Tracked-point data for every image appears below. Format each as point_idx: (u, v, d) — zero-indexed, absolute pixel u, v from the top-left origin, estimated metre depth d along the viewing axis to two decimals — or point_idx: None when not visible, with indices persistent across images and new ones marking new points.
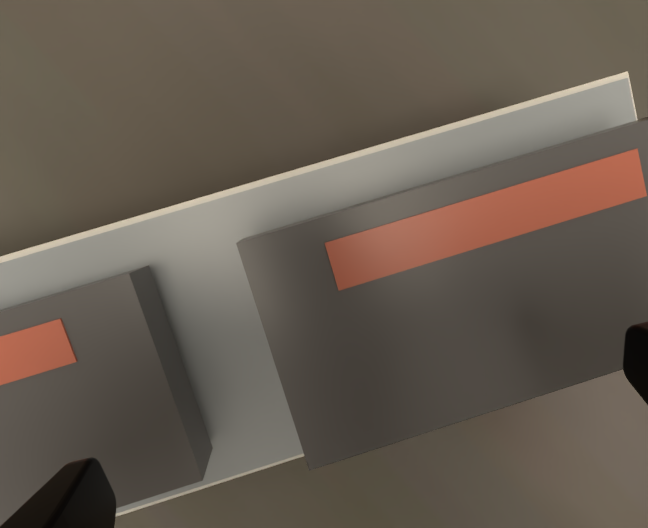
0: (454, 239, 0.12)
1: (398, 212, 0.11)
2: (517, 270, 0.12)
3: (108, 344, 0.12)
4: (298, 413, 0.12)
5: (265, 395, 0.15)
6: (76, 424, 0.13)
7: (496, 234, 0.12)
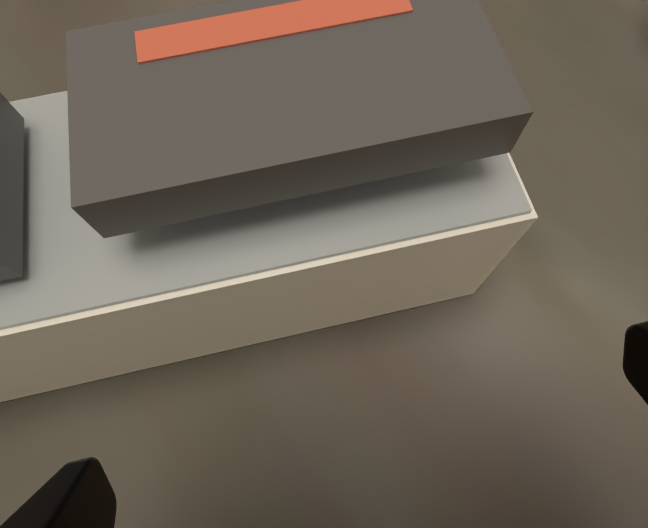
0: (244, 35, 0.14)
1: (199, 16, 0.14)
2: (298, 57, 0.13)
3: None
4: (76, 155, 0.12)
5: (93, 239, 0.15)
6: None
7: (280, 32, 0.14)
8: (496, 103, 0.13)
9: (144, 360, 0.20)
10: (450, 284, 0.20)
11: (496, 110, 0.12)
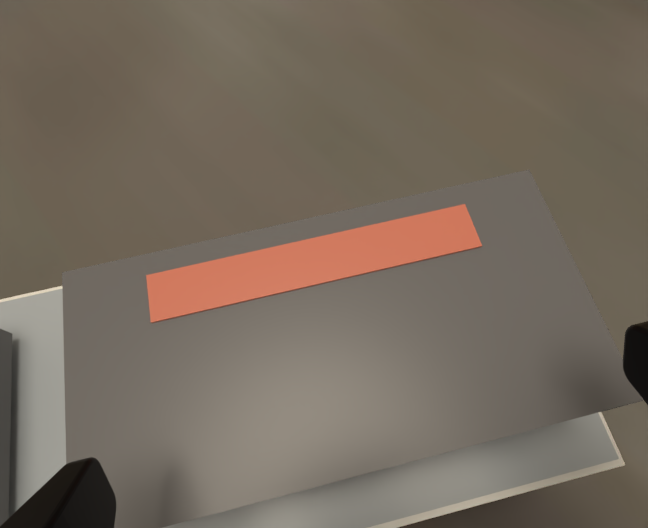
0: (279, 279, 0.11)
1: (224, 251, 0.12)
2: (347, 314, 0.11)
3: None
4: None
5: None
6: None
7: (324, 276, 0.11)
8: (596, 387, 0.10)
9: None
10: None
11: (597, 397, 0.10)
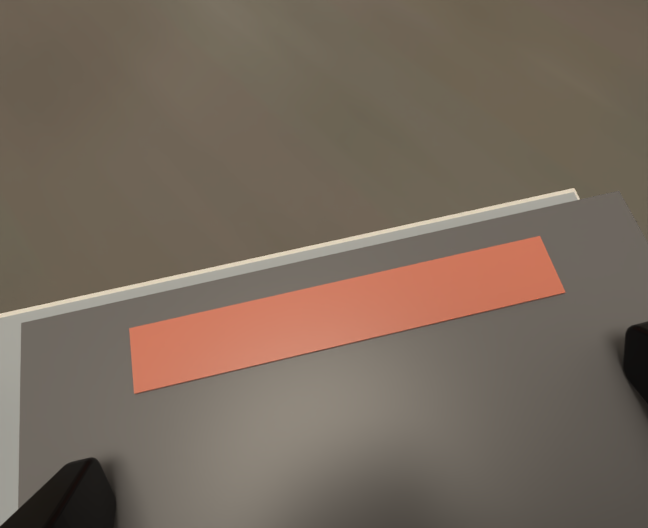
0: (302, 336, 0.09)
1: (230, 296, 0.09)
2: (392, 384, 0.08)
3: None
4: None
5: None
6: None
7: (360, 331, 0.09)
8: None
9: None
10: None
11: None
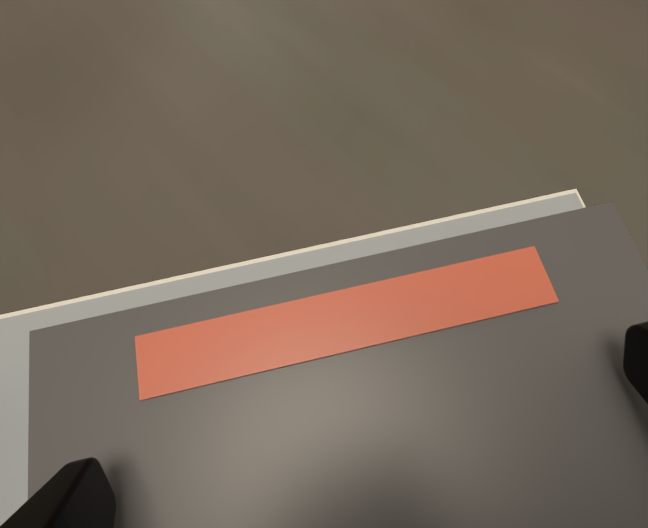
0: (303, 343, 0.09)
1: (233, 305, 0.09)
2: (390, 390, 0.09)
3: None
4: None
5: None
6: None
7: (359, 340, 0.09)
8: None
9: None
10: None
11: None
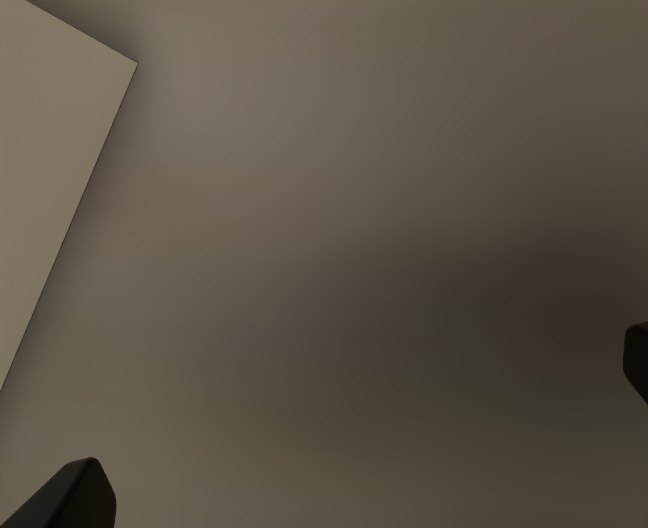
0: None
1: None
2: None
3: None
4: None
5: None
6: None
7: None
8: None
9: None
10: (85, 88, 0.17)
11: None
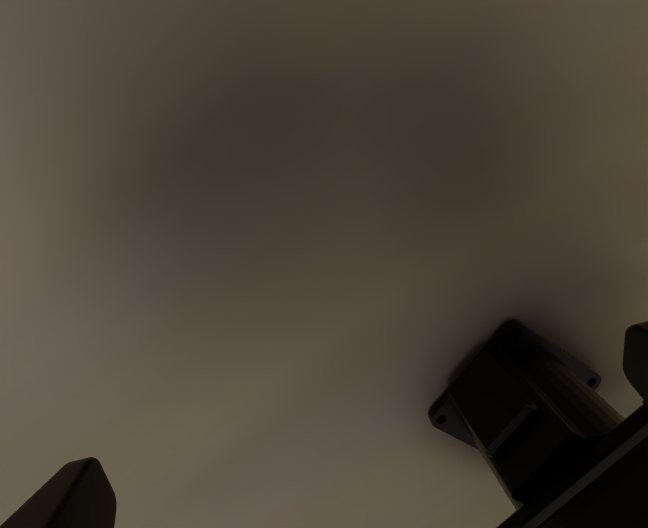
0: None
1: None
2: None
3: None
4: None
5: None
6: None
7: None
8: None
9: None
10: None
11: None
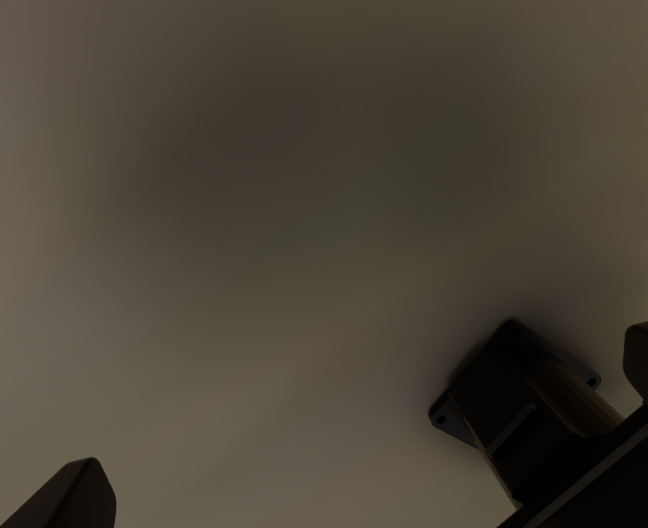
0: None
1: None
2: None
3: None
4: None
5: None
6: None
7: None
8: None
9: None
10: None
11: None
